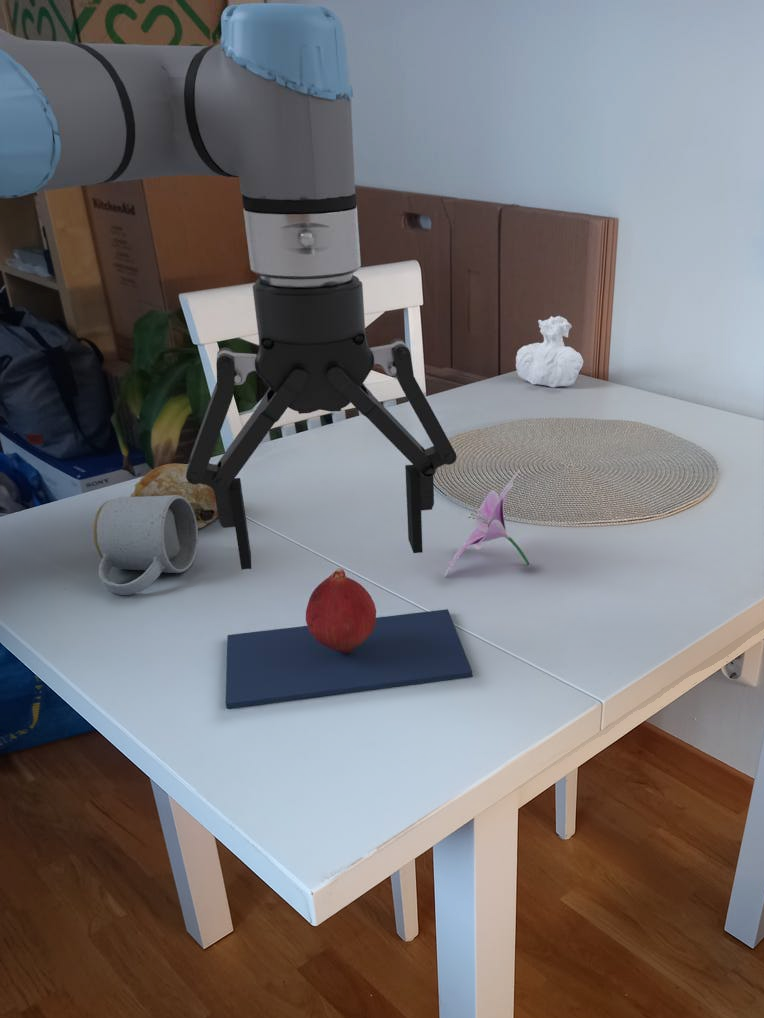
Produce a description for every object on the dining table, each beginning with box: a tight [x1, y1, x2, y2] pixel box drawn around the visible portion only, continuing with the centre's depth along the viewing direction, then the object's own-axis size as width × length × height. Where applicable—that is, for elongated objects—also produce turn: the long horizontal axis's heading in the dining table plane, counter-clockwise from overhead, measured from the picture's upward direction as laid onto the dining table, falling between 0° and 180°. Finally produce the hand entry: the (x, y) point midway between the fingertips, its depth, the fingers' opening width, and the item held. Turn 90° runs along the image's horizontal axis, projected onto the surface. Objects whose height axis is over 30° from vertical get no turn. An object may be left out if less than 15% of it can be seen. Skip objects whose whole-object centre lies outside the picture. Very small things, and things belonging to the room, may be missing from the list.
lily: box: [444, 469, 531, 577], centre depth 93 cm, size 12×12×10 cm
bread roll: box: [129, 462, 218, 530], centre depth 105 cm, size 10×10×8 cm
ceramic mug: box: [92, 495, 199, 596], centre depth 92 cm, size 11×8×8 cm
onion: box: [305, 568, 377, 654], centre depth 77 cm, size 6×6×8 cm
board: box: [225, 608, 474, 709], centre depth 80 cm, size 20×11×1 cm, turn 102°
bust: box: [515, 315, 584, 388], centre depth 150 cm, size 12×8×11 cm
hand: (332, 554), depth 75 cm, fingers open, 13 cm apart
